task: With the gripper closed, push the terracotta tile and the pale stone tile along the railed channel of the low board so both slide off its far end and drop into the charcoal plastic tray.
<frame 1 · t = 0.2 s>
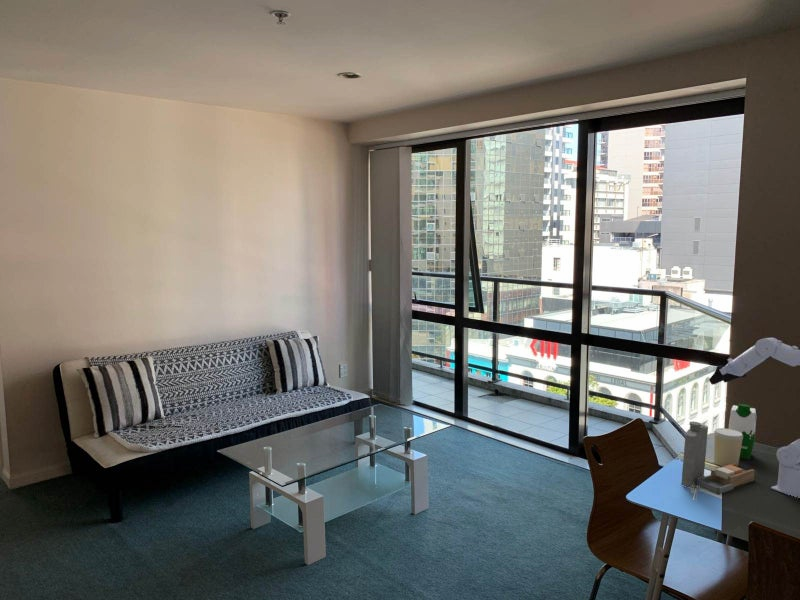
hand: (717, 381, 214), 31 cm above the table, tool tilted 45°, fingers open, 7 cm apart
board: (732, 480, 202), on the table
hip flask: (691, 480, 202), on the table
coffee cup: (725, 464, 217), on the table
tile b: (724, 475, 199), point 2 cm above the table, touching board
tray: (714, 487, 196), on the table
tile a: (732, 473, 202), point 2 cm above the table, touching board
milk carton: (739, 455, 227), on the table
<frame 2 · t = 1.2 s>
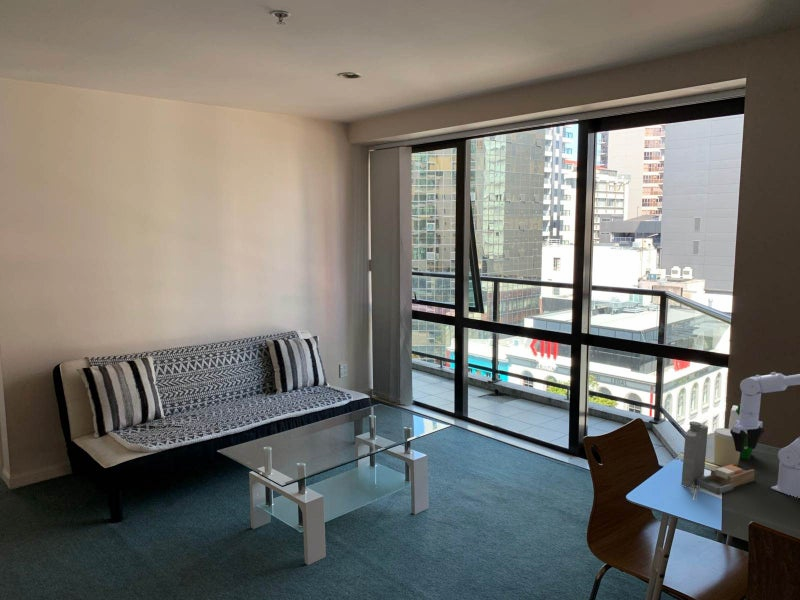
hand: (745, 449, 205), 10 cm above the table, tool pointing down, fingers open, 7 cm apart
nothing on the table moved.
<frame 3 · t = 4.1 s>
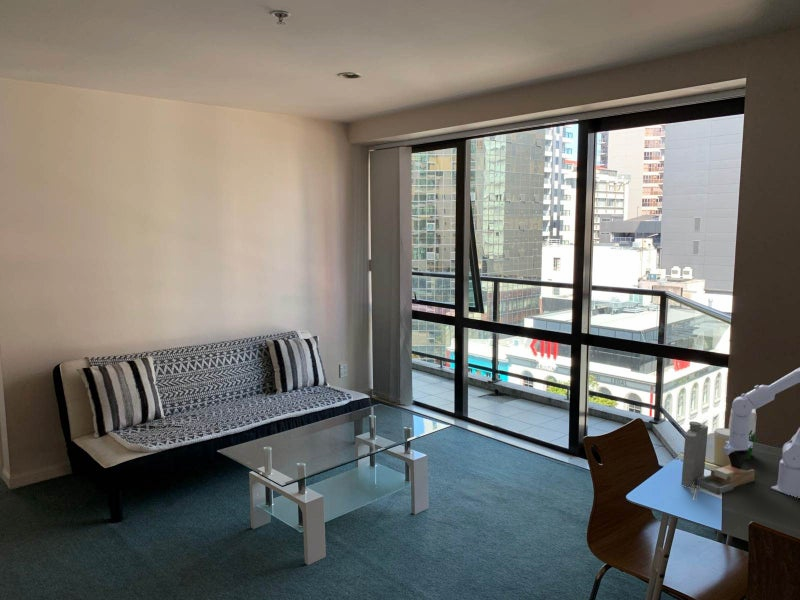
hand: (735, 470, 203), 3 cm above the table, tool pointing down, fingers closed
tile b: (723, 476, 199), point 3 cm above the table, touching board, tile a
tile a: (730, 474, 201), point 3 cm above the table, touching gripper, tile b
everything else where it was.
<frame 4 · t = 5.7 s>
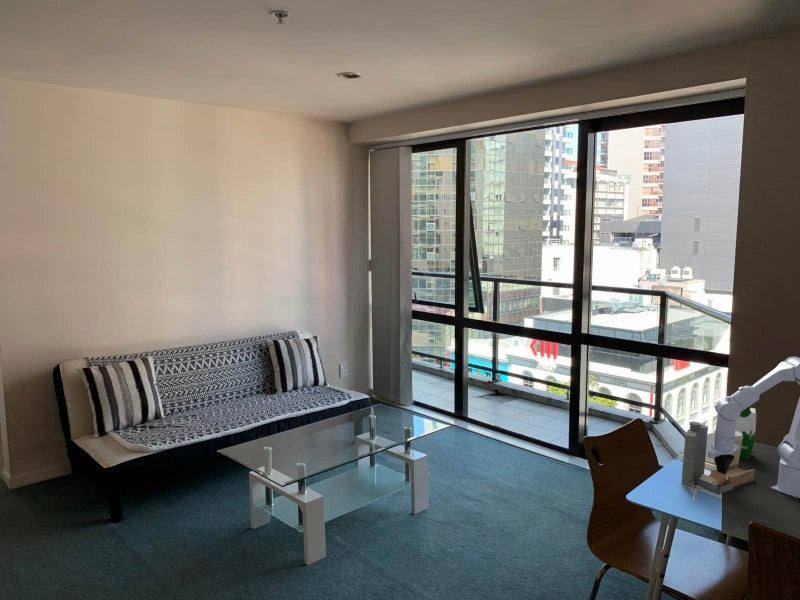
hand: (721, 475, 198), 3 cm above the table, tool pointing down, fingers closed, pressing on tile a
tile b: (710, 478, 195), point 3 cm above the table, tilted 142°, touching tile a, tray
tile a: (717, 480, 198), point 2 cm above the table, tilted 42°, touching gripper, tile b, tray
everything else where it was.
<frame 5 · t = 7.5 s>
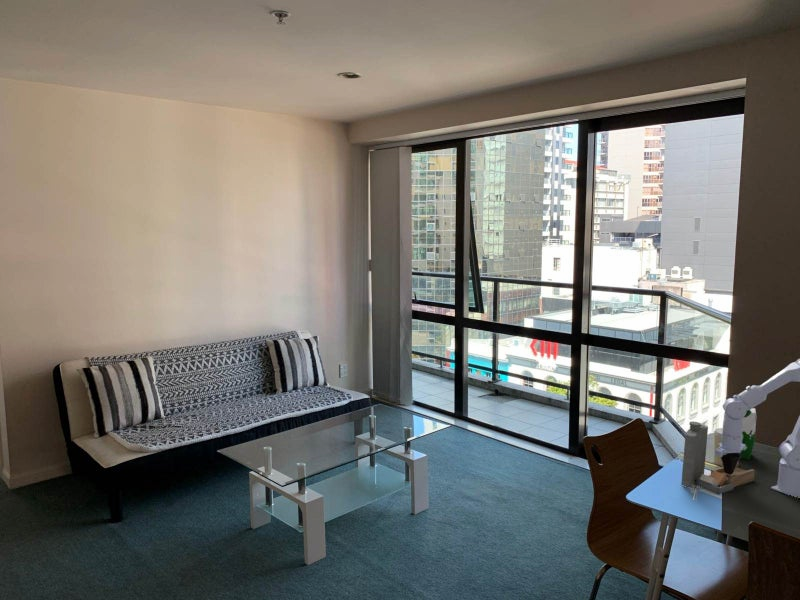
hand: (728, 473, 200), 3 cm above the table, tool pointing down, fingers closed
tile a: (717, 480, 198), point 2 cm above the table, tilted 39°, touching board, tile b, tray
everything else where it was.
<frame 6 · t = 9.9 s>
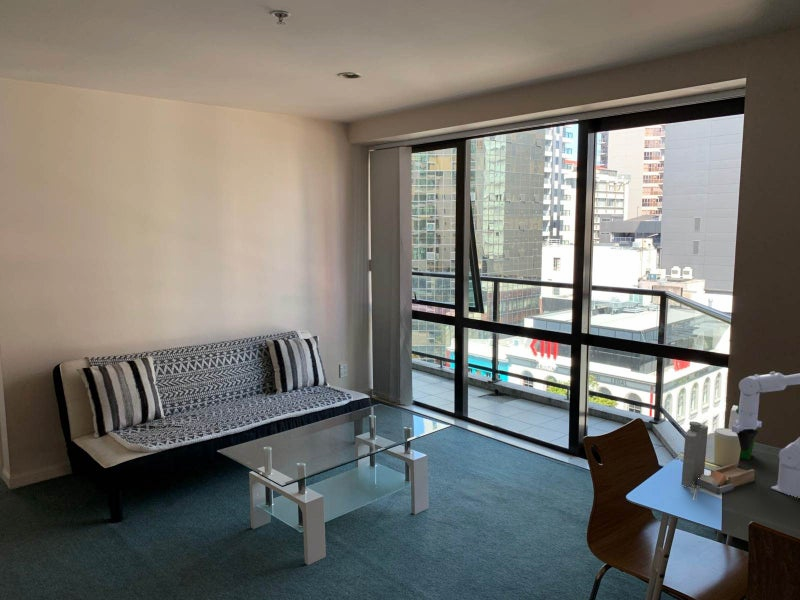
hand: (744, 449, 204), 10 cm above the table, tool pointing down, fingers closed
nothing on the table moved.
at the end: tile a inside the target area on the tray (3.1 cm from its centre), point 1.5 cm above the tray's base; tile b inside the target area on the tray (1.4 cm from its centre), point 3.1 cm above the tray's base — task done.
